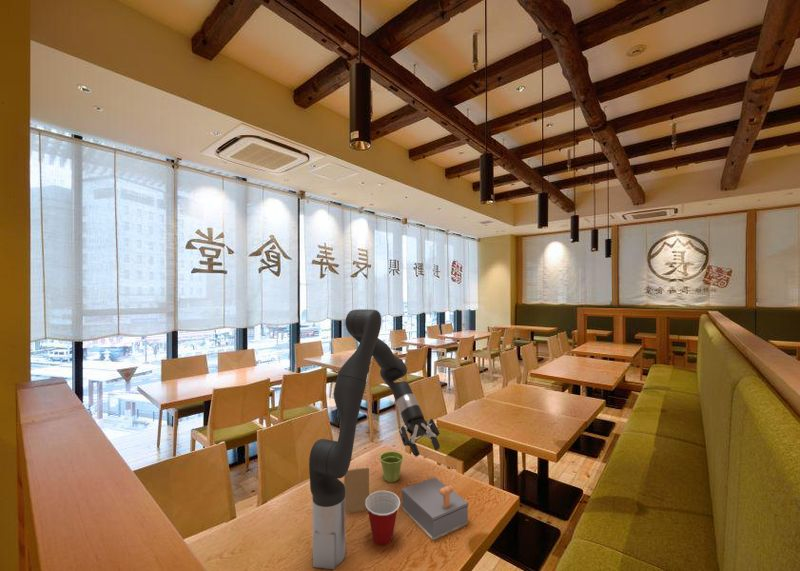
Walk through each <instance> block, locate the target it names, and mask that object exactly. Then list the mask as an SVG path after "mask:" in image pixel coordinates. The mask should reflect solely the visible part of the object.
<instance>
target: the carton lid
mask: <svg viewBox="0 0 800 571" xmlns="http://www.w3.org/2000/svg"><path fill="white" fill-rule="evenodd" d="M402 492H403V493H404V494H405V495H406V496H407V497H408V498H409V499H410V500H411V501H412V502H414V503H415V504H416V505H417V506H418V507H419V508H420V509H421V510H422V511H423V512H424V513H425V514H426V515H427V516H428V517H429V518H431V519H432V520H435V519H438V518H440V517H442V516H444V515H447V514H449V513H451V512H454V511H456V510H458V509H460V508H463V507H465V506H468V505H469V502H468V501H467V500H465V499H464V498H463V497H462V496H460V495H459V494H457V493H456V492H455V491H454V487H453V486H452V485H451V484H449V485H446V484H444V482H442V481H440V480H439V479H438V478H437V477H436V476H434V477H431V478H427V479H426V480H423V481H420V482H417V483H414V484H412V485H411V484H410V485H408V486H405V487H403V488H401V493H402Z"/></svg>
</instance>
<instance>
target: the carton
mask: <svg viewBox="0 0 800 571" xmlns="http://www.w3.org/2000/svg"><path fill="white" fill-rule="evenodd" d="M401 509H402V510H403V512H404V513H405V514H406V515H407V516H409V518H410V519H412V521H413V522H414V523H415V524H416V525H417V526H418V527H419V528H420V529H421V530H422V531H423V532H424V533H425V534H426V535H427V536H428V537H429V538H430V539H431V540H432V541H433V542H434V541H436V540H438V539H440V538H442V537H444V536H446V535H448V534H451V533H453V532H455V531H457V530H459V529H461V528H463V527H465V526H467V525H469V524H468V522H469V521H468V520H469V517H468V514H469V513H468V511H469V510H468V509H469V506H468V505H467V506H465V507H463V508H460V509H458V510H456V511H454V512H451V513H449V514H447V515H444V516H442V517H440V518H438V519H435V520H432V519H431V518H429V517H428V516H427V515H426V514H425V513H424V512H423V511H422V510H421V509H420V508H419V507H418V506H417V505H416V504H415V503H414V502H412V501H411V500H410V499H409V498H408V497H407V496H406V495H405V494H404V493H403V492H402V491H401Z"/></svg>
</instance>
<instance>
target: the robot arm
mask: <svg viewBox="0 0 800 571" xmlns="http://www.w3.org/2000/svg"><path fill="white" fill-rule="evenodd" d="M381 327H382V314H381V313H380V311H379V310H377V309H371V308H370V309H368V308H367V309H360V308H359V309H353V310H352V309H351V311H349V312H348V313H347V315H346V317H345V328H346V331H347V332H348V334H349V335H350V336H351V337H352V338H353V339H355V340H356V341H357V342H358V343H359V344H358V347H357V349H356V350H355V351H354V352H353V354H351V356H350V357H349V358H348V359H347V360H346V361H345V362H344V364H343V365H342V366H341V368H340V370H339V371H338V374H337V378H336V381H335V384H334V388H333V399H334V404H335V407H336V410H337V413H338V418H339V432H338V439H337V440H333V439H332V440H331V439H328V438H320V439H317V440H316V441H315V442H314V443H313V445H312V447H311V450H310V452H309V460H308V470H309V472H308V474H309V486H310V487H309V489H310V492H311V495H312V562H313V563H312V567H313V568H318V569H326V570H335V569H336V567H337V566H339V565H340V564H341V563H342V562H343V561H344V559H345V557H346V513H345V486H344V482H342V481H341V480H340V479H342V478H344V476H345V474H346V473H347V471H348V470H349V468H350V465H351V460H352V457H353V450H354V443H355V438H356V436H355V435H356V430H357V424H358V419H359V414H360V409H361V406H362V401H363V397H364V393H365V390H366V389H365V388H366V385H367V380H368V374H369V369H370V366H371V362H372V358H373V359H374V361H375V362H376V363H377V365H378V366H379V367H380V370H379V371H380V372H379V374H380V377H381V379H382V380H383V381H384V383H385V384H386V385H387V386H388V388H389V389H390V390H391V393H392V395H393V397H394V400H395V402H396V405H397V409H398V411H399V413H400V416H401V419H402V421H403V424H404V425H402V426H401V427H400V428H399V429H398V431H399V436H400V438H401V441H402V444H403V446H404V447H407V446H408V447H409V448H410V450H411V453H412V455H413V456H414V457H415V458H417V457H418V456H420V451H419V449H418V447H417V444H416V443H415V442H416V439H417V438H419V437H423V436H424V437H426V438H428V439H430V441H431V444H432V446H433V448H434V451H439V450H440V443H439V441H438V438H437V437H438V436H439V435H440V433H441V432H440V431H439V429H438V427H437V424H436V423H435V420H434V419H433V418H431V419H430V420H428V421H426V420H425V417H424V414H423V411H422V409H421V407H420V405H419V402H418V400H417V397H415V394H414V393H413V391H412V388H411V386H410V384H409V382H407V381H398V380H399V379H401V378H403V377H405V376H406V375H407V373H408V368H407V365H406V364H405V362H404V361H403V360H402V359H401V358H399V357H397V356H396V355H395V354H394V353H393V351H392V349H391V348H390V346H389V345H388V344H387V343H386V342H384V341H383V340H382V339H380V338H379V336H380V331H381ZM395 381H398V382H395ZM407 432H408V433H409V435H408V433H407ZM408 436H409V437H408Z"/></svg>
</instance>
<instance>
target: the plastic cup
mask: <svg viewBox="0 0 800 571" xmlns="http://www.w3.org/2000/svg"><path fill="white" fill-rule="evenodd" d="M365 506H366V508H367V510H366V511H367V512H368V513H367V514H368V518H369V523H370V530H371V536H372V540H373V542H374V543H375V544H376V545H378V546H379V545H380V546H386V545H389V544H390V543H391V542H392V540H393V535H394V529H395V525H396V519H397V513H398V510H399V508H400V506H401V500H400V497H399V496H398V495H397V494H396V493H394V492H393V491H388V490H376V491H373V492H371V493H369V496H368V497H367V499H366V500H365Z"/></svg>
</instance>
